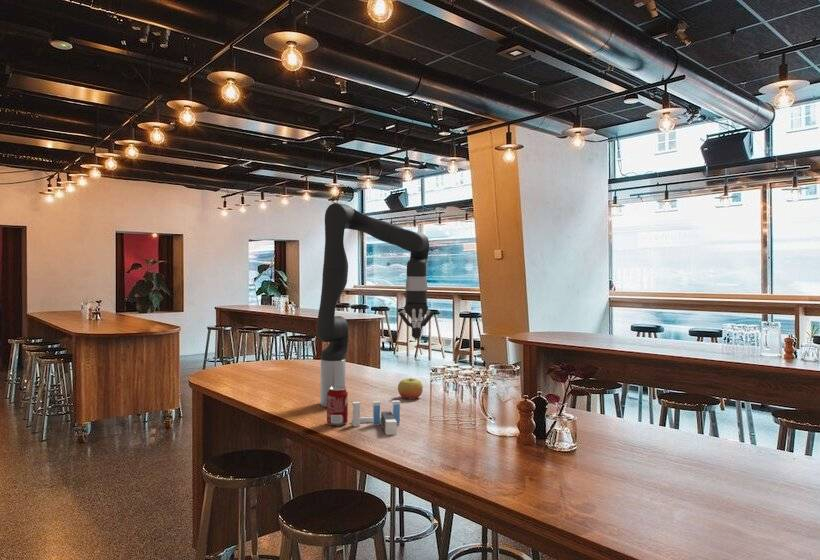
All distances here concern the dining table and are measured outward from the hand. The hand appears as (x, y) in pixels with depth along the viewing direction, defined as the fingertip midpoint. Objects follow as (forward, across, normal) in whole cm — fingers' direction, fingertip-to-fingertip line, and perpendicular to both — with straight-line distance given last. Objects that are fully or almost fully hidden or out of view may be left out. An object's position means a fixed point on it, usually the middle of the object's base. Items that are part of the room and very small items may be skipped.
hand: (415, 338), depth 199 cm
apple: (+27, -3, -25) cm, 37 cm away
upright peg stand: (+27, +15, +10) cm, 32 cm away
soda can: (+27, +28, +8) cm, 40 cm away
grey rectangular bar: (+27, +12, +16) cm, 34 cm away
